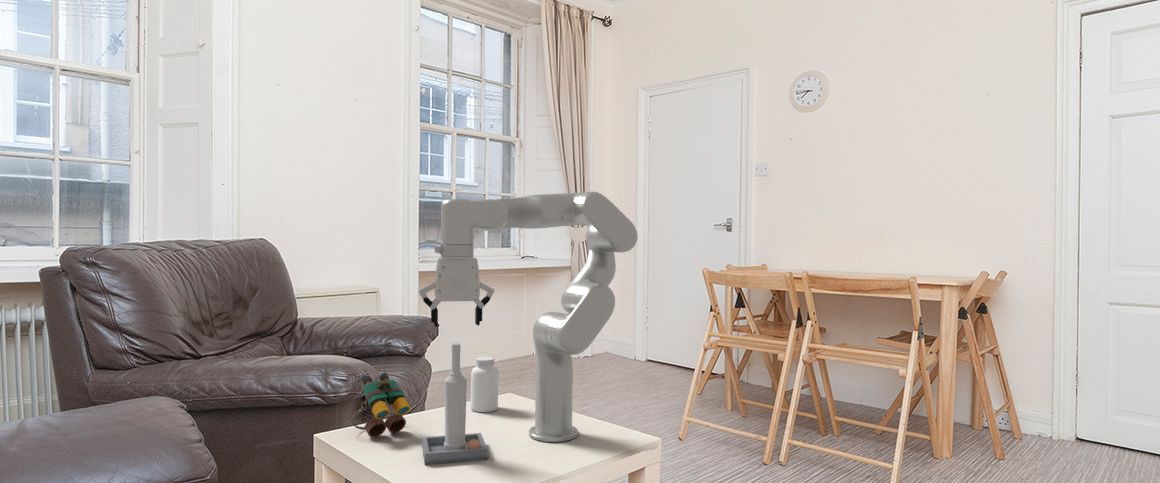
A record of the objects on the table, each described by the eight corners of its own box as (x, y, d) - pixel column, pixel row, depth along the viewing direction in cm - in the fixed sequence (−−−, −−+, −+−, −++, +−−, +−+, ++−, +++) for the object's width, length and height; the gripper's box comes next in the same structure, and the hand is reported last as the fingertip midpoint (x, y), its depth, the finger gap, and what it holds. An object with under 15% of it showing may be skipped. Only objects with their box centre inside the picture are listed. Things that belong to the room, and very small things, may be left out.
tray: (422, 447, 157) (422, 437, 157) (480, 443, 161) (480, 432, 161) (424, 465, 145) (424, 453, 145) (487, 459, 149) (487, 448, 149)
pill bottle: (492, 413, 186) (493, 361, 186) (466, 411, 188) (466, 360, 188) (501, 406, 194) (502, 356, 194) (476, 404, 196) (476, 355, 195)
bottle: (441, 448, 154) (442, 342, 154) (462, 445, 156) (464, 341, 156) (446, 455, 150) (447, 346, 149) (468, 452, 152) (469, 345, 151)
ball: (466, 451, 152) (466, 437, 152) (479, 450, 153) (479, 436, 153) (467, 456, 149) (467, 442, 149) (481, 454, 150) (481, 441, 150)
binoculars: (356, 452, 163) (370, 407, 156) (338, 413, 171) (350, 369, 165) (408, 440, 172) (423, 398, 166) (388, 404, 181) (401, 362, 175)
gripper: (419, 252, 146) (419, 328, 147) (496, 252, 151) (495, 326, 151) (418, 251, 153) (418, 324, 154) (491, 251, 158) (491, 321, 159)
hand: (456, 325), depth 153 cm, fingers open, 9 cm apart
